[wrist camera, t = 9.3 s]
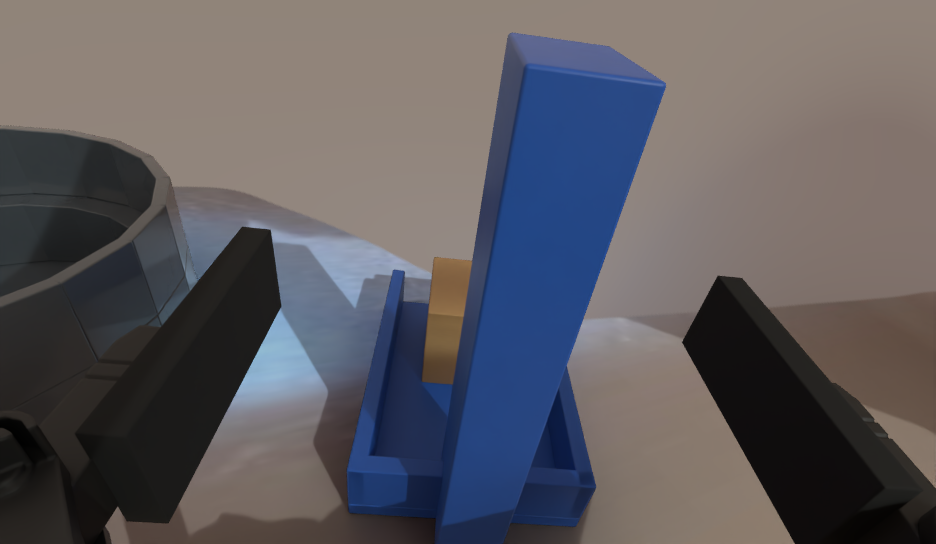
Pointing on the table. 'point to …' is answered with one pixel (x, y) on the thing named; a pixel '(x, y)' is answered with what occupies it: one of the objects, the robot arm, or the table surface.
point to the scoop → (511, 310)
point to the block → (445, 319)
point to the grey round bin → (79, 257)
